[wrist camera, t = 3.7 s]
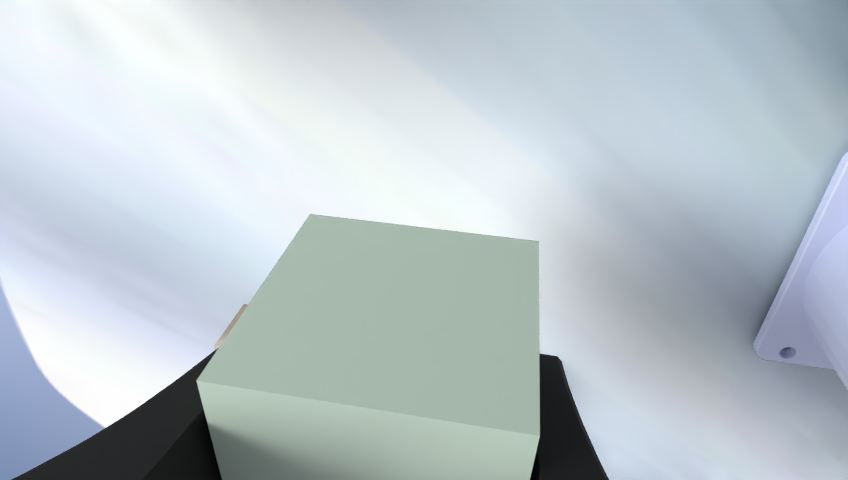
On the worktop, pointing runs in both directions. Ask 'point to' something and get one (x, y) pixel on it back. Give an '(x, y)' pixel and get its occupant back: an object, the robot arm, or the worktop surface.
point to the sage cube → (382, 359)
